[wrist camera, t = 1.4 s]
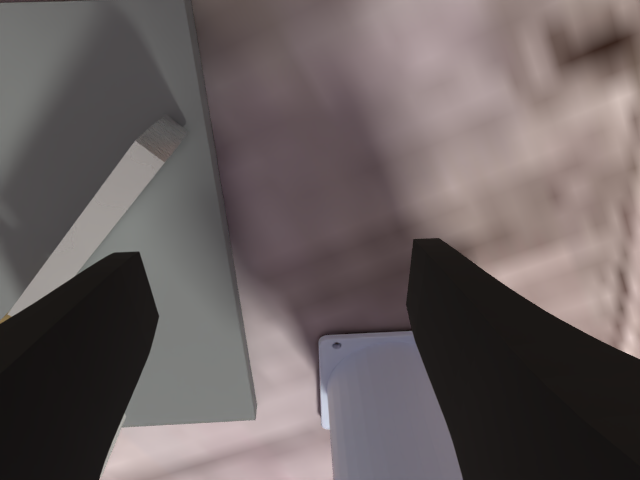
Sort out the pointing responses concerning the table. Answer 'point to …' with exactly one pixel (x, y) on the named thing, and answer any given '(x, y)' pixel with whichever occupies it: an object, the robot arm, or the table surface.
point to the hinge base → (152, 203)
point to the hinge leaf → (105, 209)
